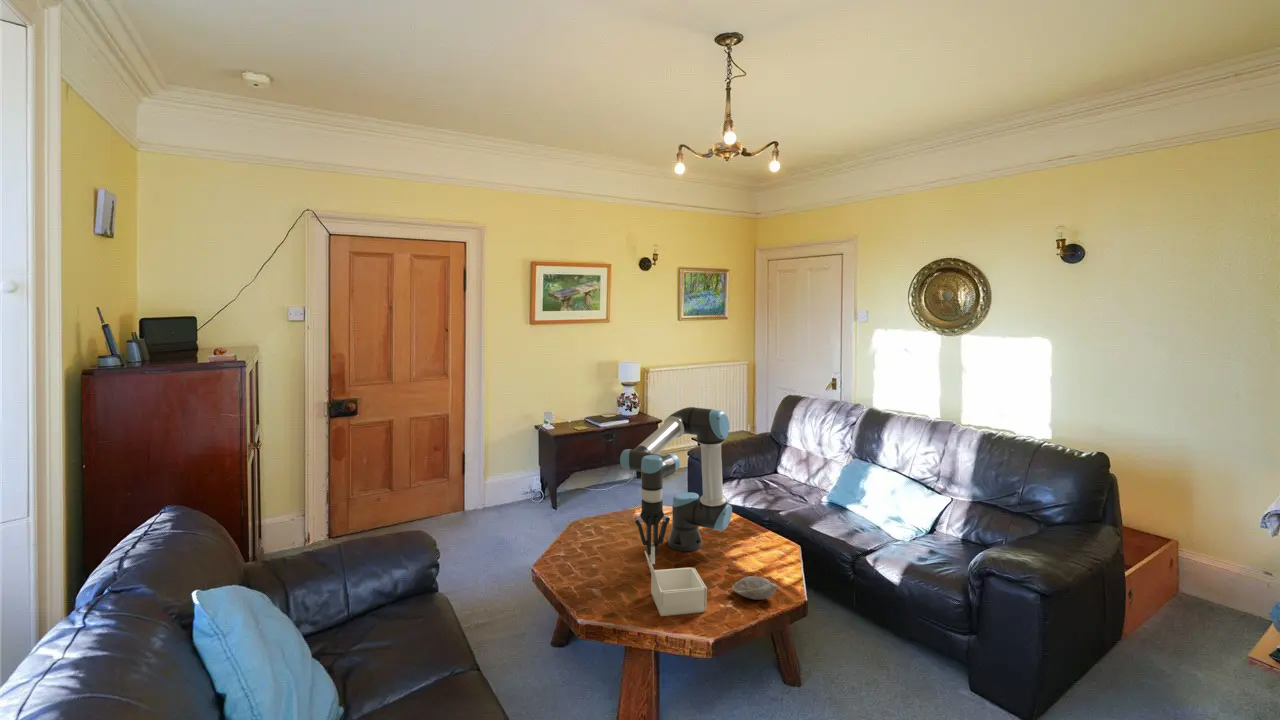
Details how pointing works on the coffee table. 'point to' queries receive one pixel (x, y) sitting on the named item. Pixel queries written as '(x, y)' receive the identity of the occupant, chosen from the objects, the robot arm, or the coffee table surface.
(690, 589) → the white open box
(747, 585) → the seashell
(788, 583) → the coffee table surface
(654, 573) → the flap
